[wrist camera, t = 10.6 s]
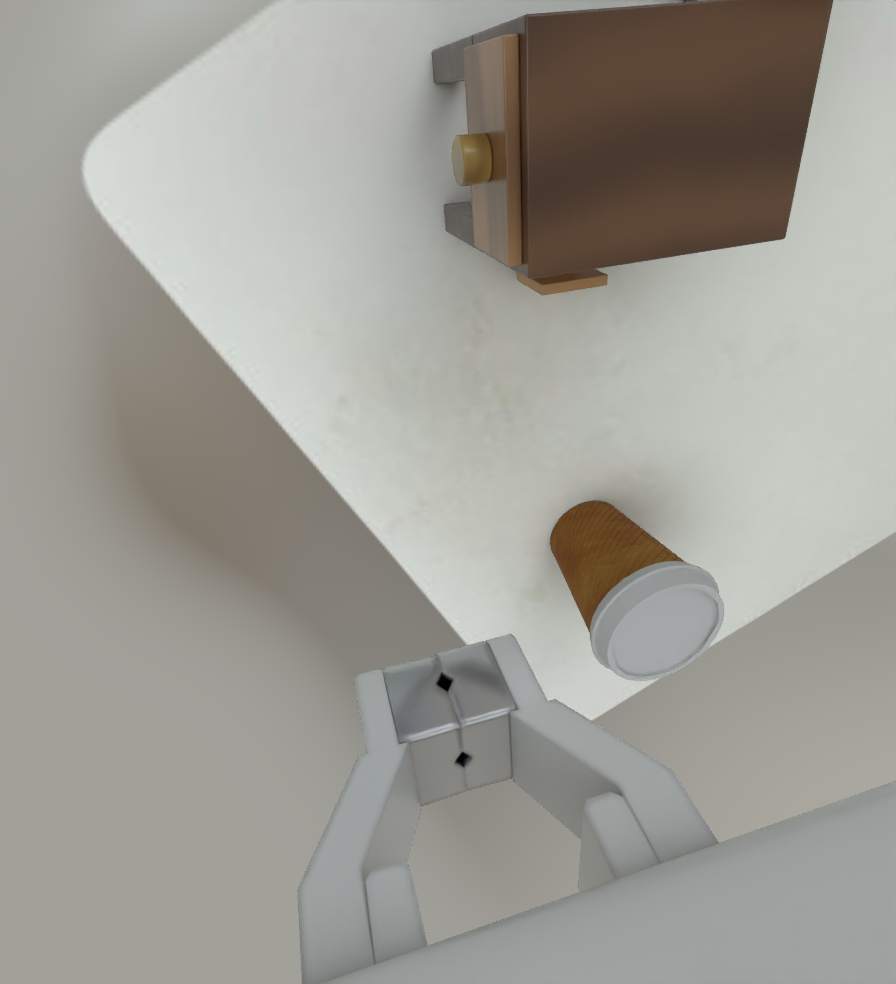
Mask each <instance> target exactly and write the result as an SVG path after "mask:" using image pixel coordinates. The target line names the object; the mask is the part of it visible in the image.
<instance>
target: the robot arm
mask: <svg viewBox="0 0 896 984" xmlns="http://www.w3.org/2000/svg"><path fill="white" fill-rule="evenodd" d="M382 671H383V673H382ZM383 676H384V677H383ZM354 685H355V691H356V697H357V703H358V708H359V714H360V720H361V725H362V731H363V736H364V742H365V748H366V754H364V755H361V756H358V758H357V760H356V763H355V764H354V767H353V769H352V771H351V773H350V775H349V778H348V780H347V782H346V784H345V787H344V789H343V791H342V793H341V795H340V797H339V800H338V802H337V804H336V806H335V808H334V811H333V813H332V815H331V817H330V820H329V822H328V824H327V826H326V828H325V830H324V833H323V835H322V837H321V839H320V841H319V844H318V846H317V848H316V850H315V852H314V855H313V857H312V859H311V861H310V863H309V866H308V868H307V870H306V872H305V874H304V876H303V879H302V881H301V883H300V885H299V887H298V890H297V891H298V911H299V931H300V951H301V971H302V984H896V781H894V782H891V783H888V784H885V785H882V786H880V787H877V788H874V789H871V790H868V791H866V792H863V793H860V794H857V795H854V796H851V797H849V798H846V799H843V800H841V801H837V802H835V803H832V804H829V805H826V806H823V807H820V808H817V809H815V810H812V811H809V812H806V813H803V814H801V815H798V816H795V817H792V818H789V819H786V820H783V821H781V822H778V823H775V824H772V825H769V826H766V827H763V828H761V829H758V830H755V831H752V832H749V833H746V834H744V835H741V836H738V837H735V838H732V839H729V840H727V841H724V842H721V843H719V842H718V841H717V839H716V838H715V836H714V835H713V833H712V831H711V830H710V828H709V827H708V825H707V824H706V822H705V820H704V819H703V817H702V816H701V814H700V813H699V811H698V810H697V808H696V806H695V805H694V803H693V802H692V800H691V799H690V797H689V796H688V794H687V792H686V791H685V789H684V788H683V786H682V785H681V783H680V782H679V780H678V778H677V777H676V775H675V774H674V772H673V771H672V770H671V769H670V768H668V767H667V766H665V765H663V764H661V763H660V762H658V761H657V760H655V759H653V758H652V757H650V756H648V755H647V754H645V753H643V752H642V751H640V750H638V749H637V748H635V747H633V746H632V745H630V744H629V743H627V742H625V741H624V740H622V739H620V738H618V737H617V736H615V735H614V734H612V733H610V732H609V731H607V730H605V729H604V728H602V727H601V726H599V725H597V724H595V723H594V722H592V721H591V720H589V719H587V718H586V717H584V716H582V715H581V714H579V713H577V712H576V711H574V710H572V709H571V708H569V707H568V706H566V705H564V704H563V703H561V702H559V701H558V700H556V699H554V700H550V701H547V699H546V697H545V695H544V693H543V691H542V689H541V687H540V685H539V683H538V681H537V679H536V677H535V675H534V673H533V671H532V669H531V667H530V665H529V663H528V661H527V659H526V658H525V656H524V654H523V652H522V650H521V648H520V646H519V644H518V642H517V640H516V638H515V637H514V636H513V635H512V634H509V635H505V636H501V637H497V638H494V639H490V640H486V642H485V641H482V642H478V643H475V644H471V645H467V646H464V647H460V648H457V649H453V650H450V651H446V652H442V653H439V654H435V655H434V656H430V657H426V658H422V659H418V660H413V661H409V662H405V663H401V664H397V665H392V666H389V667H384V668H382V670H381V669H377V670H374V671H369V672H365V673H361V674H357V675H354ZM512 778H513V781H514V782H515V783H516V784H517V785H519V786H520V787H521V788H522V789H523V790H524V791H525V792H527V793H528V794H529V795H530V796H531V797H532V798H534V799H535V800H536V801H537V802H538V803H539V804H540V805H542V806H543V807H544V808H545V809H546V810H547V811H549V812H550V813H551V814H552V815H553V816H554V817H555V818H557V819H558V820H559V821H560V822H561V823H562V824H564V825H565V826H566V827H567V828H568V829H569V830H570V831H572V832H573V833H574V834H575V835H576V836H577V837H579V838H580V839H581V852H580V866H579V867H580V868H579V882H578V888H579V891H580V892H579V893H576V894H573V895H570V896H567V897H565V898H562V899H559V900H556V901H553V902H550V903H547V904H545V905H542V906H539V907H536V908H533V909H530V910H528V911H525V912H522V913H519V914H516V915H513V916H511V917H508V918H505V919H502V920H499V921H496V922H494V923H491V924H488V925H485V926H483V927H479V928H477V929H474V930H471V931H468V932H466V933H462V934H460V935H457V936H454V937H451V938H448V939H446V940H443V941H440V942H437V943H434V944H431V945H429V946H428V945H427V941H426V937H425V932H424V927H423V923H422V919H421V914H420V910H419V906H418V902H417V896H416V892H415V888H414V883H413V879H412V874H411V870H410V866H409V865H407V860H408V857H409V853H410V850H411V846H412V842H413V839H414V835H415V832H416V828H417V825H418V821H419V818H420V814H421V810H422V809H421V806H424V805H427V804H430V803H433V802H436V801H439V800H442V799H445V798H448V797H451V796H453V795H457V794H459V793H462V792H465V791H469V790H472V789H476V788H480V787H483V786H486V785H490V784H494V783H497V782H501V781H505V780H508V779H512Z"/></svg>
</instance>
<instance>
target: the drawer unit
mask: <svg viewBox="0 0 896 984" xmlns="http://www.w3.org/2000/svg"><path fill="white" fill-rule="evenodd" d="M832 4H833V0H710V1H696V2H683V3H670V4H657V5H644V6H631V7H617V8H604V9H591V10H578V11H565V12H552V13H538V14H527V15H524V16H522V17H519V18H516V19H514V20H511V21H508V22H506V23H503V24H501V25H498V26H495V27H493V28H490V29H488V30H485V31H482V32H480V33H477V34H475V35H472V36H469V37H466V38H464V39H461V40H459V41H456V42H453V43H451V44H448V45H445V46H443V47H440V48H438V49H435V50H433V51H432V62H433V74H434V83H436V84H437V83H447V82H458V81H464V80H465V87H466V104H467V122H468V134H466V135H457V136H456V137H455V138H454V141H453V146H452V163H453V170H454V175H455V178H456V181H457V183H458V184H459V185H460V186H467V185H471V192H472V204H471V203H469V202H460V203H452V204H445V205H444V214H445V226H446V231H448V232H449V233H451V234H453V235H454V236H456V237H458V238H459V239H461V240H463V241H465V242H466V243H468V244H470V245H471V246H473V247H475V248H476V249H478V250H480V251H482V252H484V253H486V254H487V255H489V256H491V257H492V258H494V259H496V260H498V261H499V262H501V263H503V264H504V265H506V266H508V267H510V268H511V269H513V270H515V271H516V272H518V273H520V274H522V275H523V276H525V277H527V278H528V279H533V278H540V277H546V276H552V275H559V274H565V273H571V272H578V271H584V270H590V269H597V268H603V267H609V266H616V265H622V264H628V263H635V262H641V261H648V260H654V259H660V258H667V257H673V256H679V255H686V254H692V253H698V252H705V251H711V250H717V249H724V248H730V247H736V246H743V245H749V244H755V243H762V242H768V241H774V240H781V239H784V238H785V236H786V231H787V226H788V221H789V216H790V211H791V206H792V202H793V197H794V192H795V187H796V182H797V177H798V172H799V167H800V162H801V157H802V152H803V147H804V142H805V137H806V132H807V127H808V122H809V117H810V112H811V108H812V103H813V98H814V93H815V88H816V83H817V78H818V73H819V68H820V63H821V58H822V53H823V48H824V43H825V38H826V33H827V28H828V23H829V18H830V13H831V9H832Z"/></svg>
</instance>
